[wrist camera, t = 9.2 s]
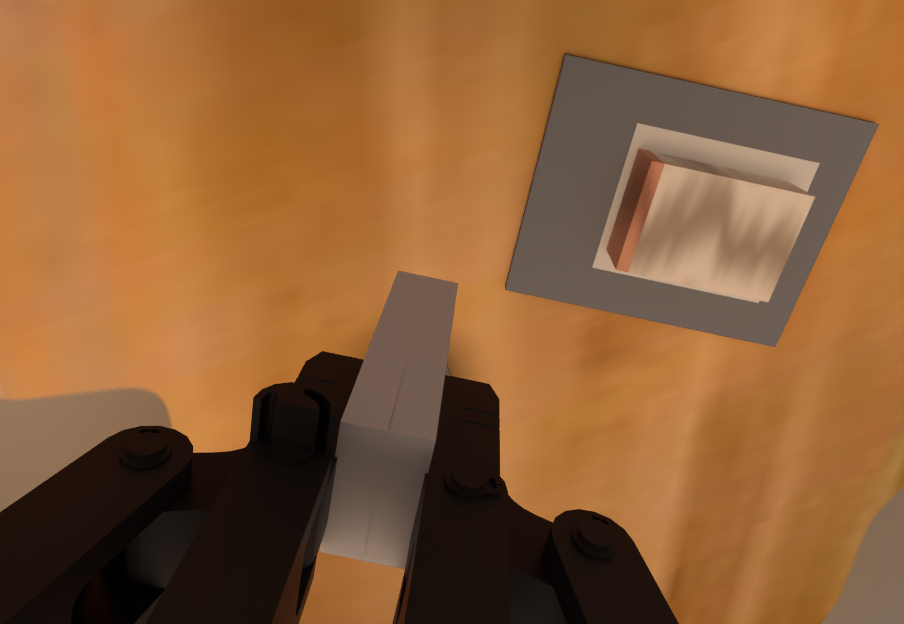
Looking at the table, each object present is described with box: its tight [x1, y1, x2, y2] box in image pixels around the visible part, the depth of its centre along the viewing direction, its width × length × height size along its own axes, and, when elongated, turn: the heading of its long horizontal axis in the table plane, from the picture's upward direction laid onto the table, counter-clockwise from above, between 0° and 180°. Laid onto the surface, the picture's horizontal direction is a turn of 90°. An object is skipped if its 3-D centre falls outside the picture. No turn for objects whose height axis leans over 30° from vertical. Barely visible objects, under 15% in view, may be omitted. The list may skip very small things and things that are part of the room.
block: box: [606, 148, 815, 302], centre depth 42 cm, size 7×4×10 cm
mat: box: [505, 54, 879, 347], centre depth 44 cm, size 16×20×1 cm
